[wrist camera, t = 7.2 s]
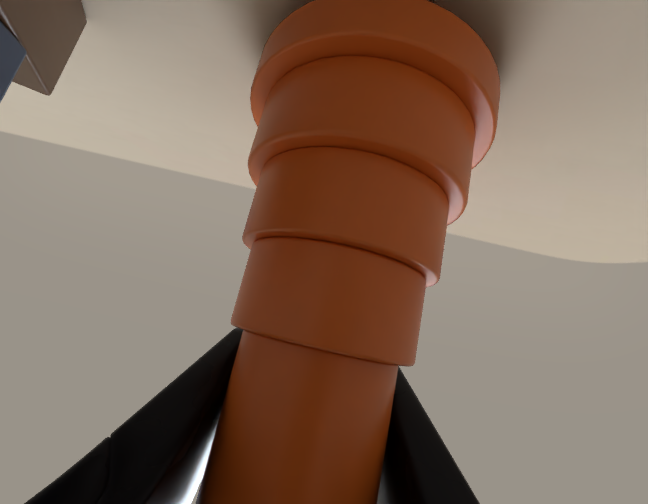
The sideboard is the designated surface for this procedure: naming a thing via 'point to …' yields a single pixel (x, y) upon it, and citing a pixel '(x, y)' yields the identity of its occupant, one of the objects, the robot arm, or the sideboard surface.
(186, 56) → the sideboard surface
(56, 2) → the base block
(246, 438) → the cone
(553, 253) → the sideboard surface
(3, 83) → the top block
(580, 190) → the sideboard surface
